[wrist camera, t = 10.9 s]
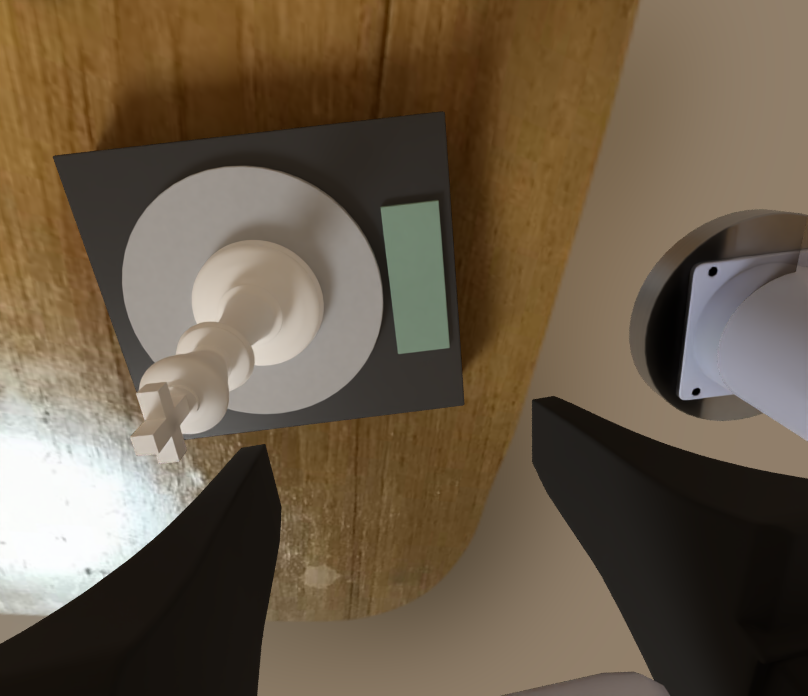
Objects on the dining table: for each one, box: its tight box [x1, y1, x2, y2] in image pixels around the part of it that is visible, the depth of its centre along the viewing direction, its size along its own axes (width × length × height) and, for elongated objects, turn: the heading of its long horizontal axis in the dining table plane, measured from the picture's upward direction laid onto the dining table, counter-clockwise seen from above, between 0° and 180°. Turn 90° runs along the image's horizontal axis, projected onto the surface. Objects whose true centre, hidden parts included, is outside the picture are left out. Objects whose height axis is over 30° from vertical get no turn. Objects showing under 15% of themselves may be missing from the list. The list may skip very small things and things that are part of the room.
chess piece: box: [130, 240, 324, 464], centre depth 14 cm, size 5×5×10 cm
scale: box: [53, 111, 464, 440], centre depth 20 cm, size 14×12×3 cm
